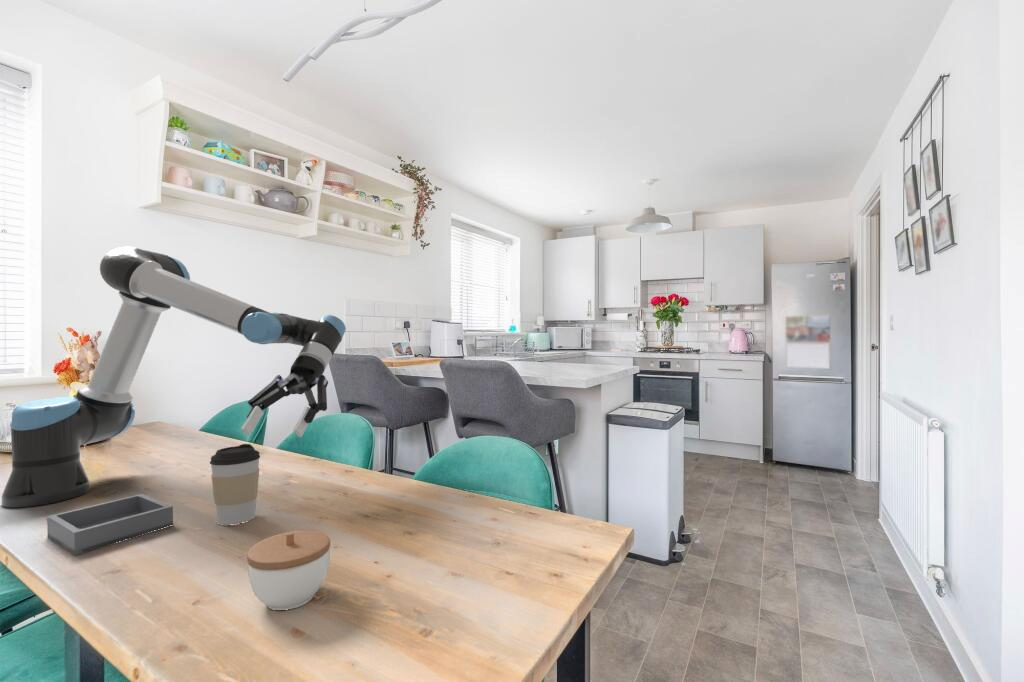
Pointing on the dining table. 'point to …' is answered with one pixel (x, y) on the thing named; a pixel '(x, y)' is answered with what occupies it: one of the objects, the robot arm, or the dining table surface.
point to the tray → (108, 523)
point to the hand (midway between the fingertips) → (270, 433)
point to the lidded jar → (289, 568)
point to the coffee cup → (235, 483)
